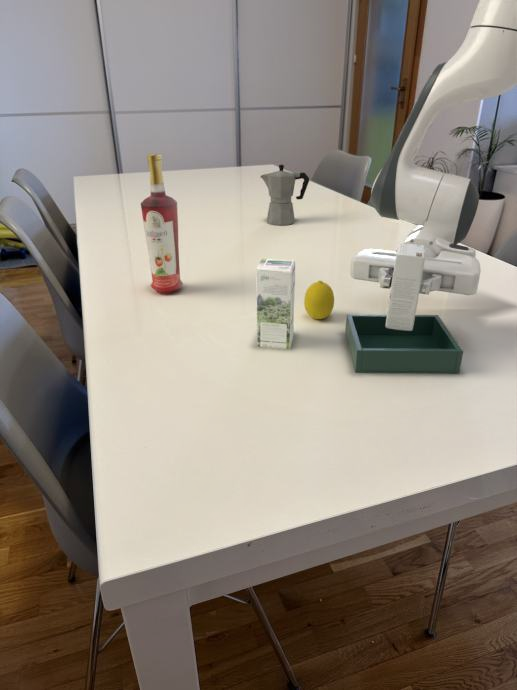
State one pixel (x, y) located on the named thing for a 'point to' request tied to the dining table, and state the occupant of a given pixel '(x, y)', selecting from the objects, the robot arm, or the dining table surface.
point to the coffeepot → (282, 195)
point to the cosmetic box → (405, 286)
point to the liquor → (161, 232)
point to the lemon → (319, 300)
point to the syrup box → (275, 303)
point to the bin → (402, 346)
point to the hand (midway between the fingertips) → (404, 286)
